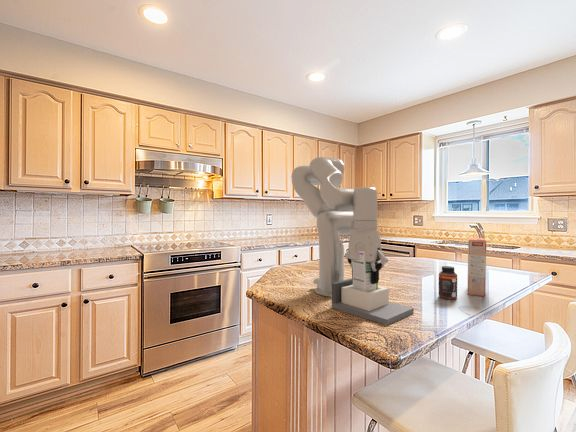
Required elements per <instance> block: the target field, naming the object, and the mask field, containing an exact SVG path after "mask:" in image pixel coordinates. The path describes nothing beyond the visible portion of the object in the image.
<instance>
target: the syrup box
mask: <svg viewBox="0 0 576 432" xmlns="http://www.w3.org/2000/svg"><path fill="white" fill-rule="evenodd" d="M359 253H360V254H359ZM359 253H358V254H359V255H360V259H359V260H357V261H355V260H353V289H356V290H360V291H364V292H371V291H374V290H378V286H379V282H378V283H375V284H371V271H373V270H372V267H371V264H370V263H368V262H366V257H365V251H359Z"/></svg>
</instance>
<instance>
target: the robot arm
mask: <svg viewBox="0 0 576 432" xmlns="http://www.w3.org/2000/svg"><path fill="white" fill-rule="evenodd" d="M344 174H345V164H344V162H343V161H342V160H341V159H339V158H337V157H336V158H335V157H326V156H319V157H315V158H313V159H312V160H311V161H310V162H309V165H301V166H296V167H295V168H294V169H293V170H292V173H291V183H292V187H293V189H294V192H295V193H296V194H297V195H298V196H299V197H300V198H301V200H302V201H303V202H304V204H305V205H306V207H307V208H308V210H309V211H310V213H311V214H312V216H314V217H315V218H316V229H317V234H318V252H319V253H318V255H319V256H318V257H319V258H318V259H319V260H318V273H319V275H318V277H317V278H315V280H313V281H312V283H313V284H314V285H316V288H315V289H314V293H315V294H317V295H319V296H324V297H330V298H332V283H335V282H339V281H343V280H345V259H346V260H347V263H348V264H349V266H350V268H351V279H352V280H353V260H355V261H357V260H359V259H360V255H359V254H360V253H359V251H365V257H366V262H368V263H370V264H371V267H372V270H373V271H371V284H375V283H378V284H379V280H380V271H381V269H382V268H383V267H385V265H386V264H387V263H388V262H389V259H388V258H387V256H386V255H385V254H384V253H383V252H382V243H381V241H382V240H381V235H380V231H379V230H378V190H377V189H376V187H372V186H371V187H370V186H369V187H368V186H363V187H362V186H361V187H356V188H349V187H348V188H345V187H340V186H341V184H342V183H343V181H344V180H343V179H344V177H343V175H344ZM317 186H320V187H317ZM340 236H349V237H348V247H347V248H348V250H347V251H346V253H345V246H344V244H343V242H342V239H341V237H340ZM358 253H359V254H358Z"/></svg>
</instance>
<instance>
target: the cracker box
mask: <svg viewBox="0 0 576 432" xmlns="http://www.w3.org/2000/svg"><path fill="white" fill-rule="evenodd" d="M467 247H468V249H467V295H469V296H477V297H486V284H487V283H486V282H487V281H486V280H487V278H486V277H487V276H486V275H487V272H486V271H487V240H486V238H484V237H468V246H467Z"/></svg>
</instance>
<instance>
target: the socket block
mask: <svg viewBox="0 0 576 432" xmlns="http://www.w3.org/2000/svg"><path fill="white" fill-rule="evenodd" d="M389 291H390V289H389V288H388V287H384V286H379V285H378V290H374V291H371V292H364V291H360V290H356V289H353V285H349V286H345V287H341V303H344V304H347V305H351V306H354V307H357V308H361V309H364V310H368V311H371V310H373V309H376V308H379V307H381V306H384V305H387V304H389V302H390V301H389V298H390V297H389V295H390V294H389Z"/></svg>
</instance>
